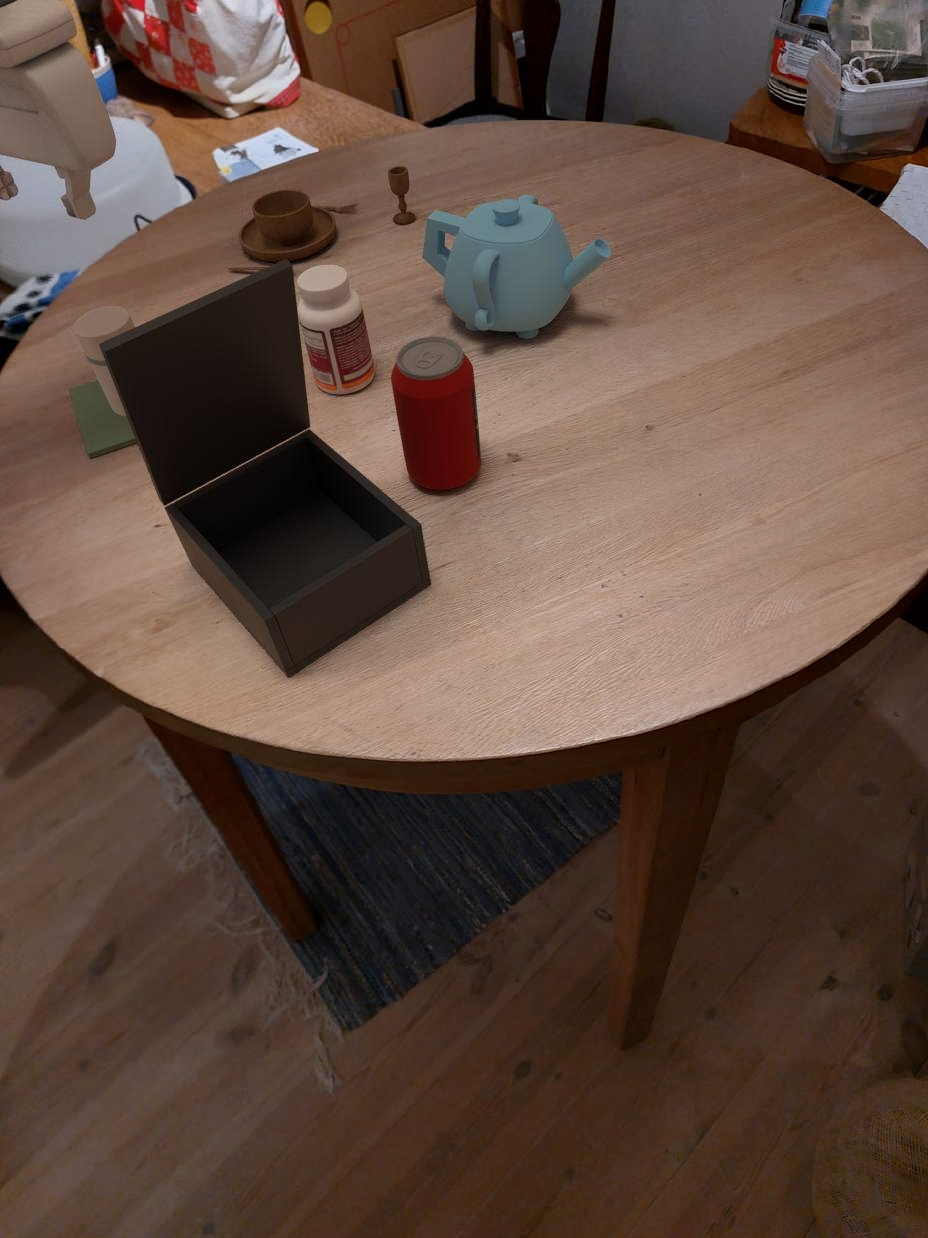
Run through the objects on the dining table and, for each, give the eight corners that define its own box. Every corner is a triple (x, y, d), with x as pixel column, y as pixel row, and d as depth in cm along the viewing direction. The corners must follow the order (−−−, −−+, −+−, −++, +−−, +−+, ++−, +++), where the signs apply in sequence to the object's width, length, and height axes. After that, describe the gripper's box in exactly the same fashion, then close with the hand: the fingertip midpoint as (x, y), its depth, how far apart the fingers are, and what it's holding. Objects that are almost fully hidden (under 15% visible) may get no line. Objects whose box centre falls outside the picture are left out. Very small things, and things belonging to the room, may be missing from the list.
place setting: (275, 204, 114) (263, 157, 110) (419, 211, 109) (413, 163, 105) (217, 274, 104) (201, 226, 99) (373, 286, 99) (365, 236, 95)
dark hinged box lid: (292, 265, 58) (286, 258, 58) (104, 351, 53) (98, 343, 53) (310, 427, 72) (305, 420, 73) (164, 506, 68) (159, 499, 68)
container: (119, 423, 86) (80, 343, 79) (105, 396, 89) (66, 317, 82) (170, 403, 87) (136, 323, 80) (154, 378, 90) (121, 298, 83)
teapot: (400, 344, 91) (382, 234, 82) (458, 263, 101) (449, 157, 92) (584, 373, 86) (587, 259, 76) (628, 285, 95) (635, 174, 86)
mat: (89, 458, 84) (87, 453, 83) (71, 393, 91) (68, 388, 90) (210, 418, 86) (208, 413, 86) (182, 357, 93) (180, 352, 93)
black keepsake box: (431, 584, 70) (421, 523, 64) (288, 678, 65) (264, 621, 60) (325, 489, 78) (309, 428, 73) (191, 566, 73) (163, 507, 68)
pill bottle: (377, 357, 90) (358, 256, 82) (374, 394, 86) (354, 291, 78) (317, 362, 90) (292, 262, 82) (312, 399, 87) (285, 298, 78)
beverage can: (496, 459, 79) (488, 343, 69) (455, 505, 75) (441, 390, 66) (434, 438, 81) (418, 323, 72) (392, 481, 78) (370, 367, 69)
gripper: (-169, 15, 64) (-66, 202, 75) (17, 41, 57) (102, 245, 67) (-98, -13, 68) (-9, 170, 78) (87, 9, 60) (158, 208, 71)
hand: (44, 205), depth 73 cm, fingers open, 8 cm apart
